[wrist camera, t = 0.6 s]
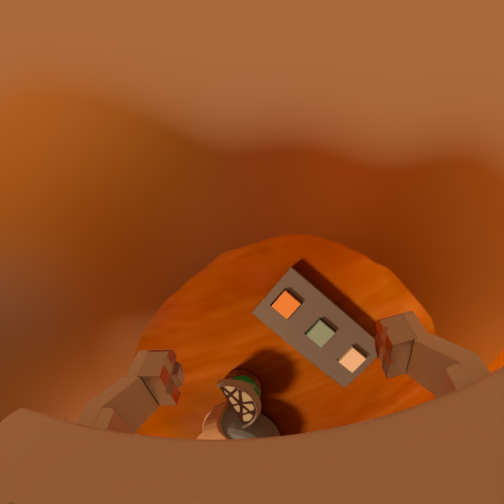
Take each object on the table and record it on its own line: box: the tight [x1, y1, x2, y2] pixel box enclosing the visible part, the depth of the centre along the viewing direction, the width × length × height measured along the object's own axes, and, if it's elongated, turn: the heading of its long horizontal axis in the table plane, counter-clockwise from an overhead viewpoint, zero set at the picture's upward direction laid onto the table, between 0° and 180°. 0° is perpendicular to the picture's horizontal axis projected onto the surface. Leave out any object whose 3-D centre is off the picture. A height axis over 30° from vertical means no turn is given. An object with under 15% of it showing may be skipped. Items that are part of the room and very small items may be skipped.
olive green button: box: [306, 318, 335, 347], centre depth 53 cm, size 4×4×2 cm
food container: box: [217, 369, 262, 428], centre depth 55 cm, size 12×6×10 cm, turn 26°
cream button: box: [338, 345, 366, 373], centre depth 52 cm, size 4×4×2 cm
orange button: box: [272, 289, 301, 319], centre depth 54 cm, size 4×4×2 cm
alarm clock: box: [197, 402, 280, 440], centre depth 55 cm, size 19×20×12 cm
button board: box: [252, 267, 377, 388], centre depth 55 cm, size 26×12×3 cm, turn 50°
